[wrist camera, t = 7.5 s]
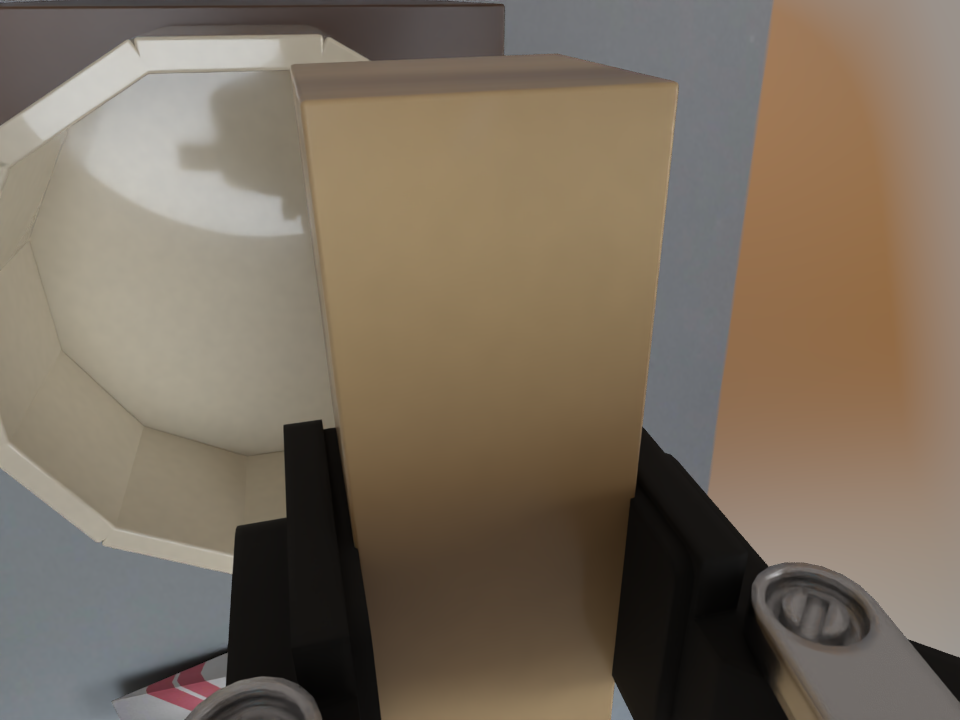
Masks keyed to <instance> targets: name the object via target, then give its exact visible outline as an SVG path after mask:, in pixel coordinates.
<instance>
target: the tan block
mask: <svg viewBox="0 0 960 720" xmlns="http://www.w3.org/2000/svg"><path fill="white" fill-rule="evenodd" d="M290 75H291V83H292V91H293V99H294V107H295V115H296V123H297V130H298V138H299V146H300V154H301V162H302V170H303V177H304V185H305V193H306V201H307V209H308V217H309V225H310V232H311V240H312V248H313V256H314V264H315V272H316V280H317V287H318V295H319V303H320V311H321V319H322V327H323V334H324V342H325V350H326V358H327V366H328V374H329V382H330V389H331V397H332V405H333V413H334V421H335V427H336V431H337V438H338V444H339V451H340V457H341V464H342V470H343V477H344V483H345V490H346V496H347V502H348V509H349V515H350V522H351V528H352V535H353V541H354V547H355V548H358V552H359V559H360V565H361V571H362V577H363V584H364V590H365V596H366V602H367V609H368V615H369V622H370V629H371V636H372V644H373V652H374V660H375V669H376V678H377V686H378V695H379V703H380V712H381V720H611V712H612V703H613V694H614V684H615V681H614V679H613V677H612V668H613V658H614V649H615V640H616V630H617V621H618V611H619V602H620V592H621V583H622V574H623V564H624V555H625V545H626V536H627V527H628V517H629V508H630V499H631V498H634V497H635V489H636V480H637V471H638V461H639V452H640V443H641V434H642V424H643V415H644V406H645V396H646V387H647V378H648V369H649V359H650V350H651V341H652V331H653V322H654V313H655V304H656V294H657V285H658V276H659V266H660V257H661V248H662V239H663V229H664V220H665V211H666V201H667V192H668V183H669V174H670V164H671V155H672V146H673V136H674V127H675V118H676V108H677V99H678V90H679V86H678V83H676V82H674V81H671V80H667V79H662V78H658V77H654V76H650V75H645V74H641V73H637V72H633V71H628V70H624V69H620V68H616V67H611V66H607V65H603V64H599V63H595V62H590V61H586V60H582V59H578V58H573V57H569V56H565V55H561V54H536V55H510V56H485V57H459V58H434V59H408V60H383V61H357V62H332V63H306V64H293V65H291V66H290Z"/></svg>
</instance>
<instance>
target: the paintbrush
mask: <svg viewBox="0 0 960 720" xmlns="http://www.w3.org/2000/svg"><path fill="white" fill-rule="evenodd" d="M227 657H228V653H226V654H223V655H221V656H218V657H216V658H214V659H211V660H209V661H206V662H204V663H202V664H199V665H197V666H194V667H192V668H190V669H187V670H185V671H182V672H180V673H178V674H175V675H173V676H170V677H168V678H166V679H163V680H161V681H159V682H156V683H154V684H151V685H149V686H147V687H144V688H142V689H139V690H137V691H135V692H132V693H130V694H127V695H125V696H123V697H120V698H118V699H115V700H113V701H111V702H112V704H113V706H114V708H115V710H116V712H117V714H118V716H119V718H120V720H184V719H185V718H186V717H187V716H188V715H189V714H190V713H191V711H192V710H193V709H194V708H195V707H196V706H197V705H198V704H199V703H200V702H202V701H203V700H205V699H206V698H207V697H209V696H210V695H211V694H213V693H214V692H216V691H217V690H219V689H221V688H223V687H226V674H227Z"/></svg>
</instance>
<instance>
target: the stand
mask: <svg viewBox="0 0 960 720" xmlns="http://www.w3.org/2000/svg"><path fill="white" fill-rule="evenodd" d="M504 19H505V6H504V5H503V4H495V3H476V2H458V1H440V0H55V1H33V2H11V3H0V125H2V124H3V123H5V122H6V121H8V120H9V119H10V118H12V117H13V116H15V115H16V114H18V113H19V112H21V111H22V110H24V109H25V108H27V107H28V106H30V105H31V104H32V103H34V102H35V101H37V100H38V99H40V98H41V97H43V96H44V95H46V94H47V93H49V92H50V91H52V90H53V89H54V88H56V87H57V86H59V85H60V84H62V83H63V82H65V81H66V80H68V79H69V78H71V77H72V76H74V75H75V74H77V73H78V72H79V71H81V70H82V69H84V68H85V67H87V66H88V65H90V64H91V63H93V62H94V61H96V60H97V59H99V58H100V57H101V56H103V55H104V54H106V53H107V52H109V51H110V50H112V49H113V48H115V47H116V46H118V45H119V44H121V43H122V42H123V41H125V40H127V39H130V38H132V37H135V36H138V35H141V34H144V33H147V32H150V31H153V30H156V29H158V28H163V27H166V26H206V25H237V24H244V25H301V24H307V25H310V26H311V27H312V28H313V27H317V28H319V29H321V30H322V31H324V32H326V33H328V34H329V35H331V36H333V37H334V38H336V39H338V40H340V41H341V42H343V43H345V44H347V45H348V46H350V47H352V48H353V49H355V50H357V51H359V52H360V53H362V54H364V55H366V56H367V57H369V58H371V59H373V60H374V61H383V60H408V59H434V58H459V57H485V56H504Z"/></svg>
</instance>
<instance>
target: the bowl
mask: <svg viewBox="0 0 960 720" xmlns="http://www.w3.org/2000/svg"><path fill="white" fill-rule="evenodd" d="M357 61H374V60H373V59H371V58H369V57H367V56H366V55H364V54H362V53H360V52H359V51H357V50H355V49H353V48H352V47H350V46H348V45H347V44H345V43H343V42H341V41H340V40H338V39H336V38H334V37H333V36H331V35H329V34H328V33H326V32H324V31H322V30H321V29H319V28H317V27H313V28H312V27H311V26H310V25H307V24H301V25H244V24H237V25H206V26H166V27H163V28H158V29H156V30H153V31H150V32H147V33H144V34H141V35H138V36H135V37H132V38H130V39H127V40H125V41H123V42H122V43H121V44H119V45H118V46H116V47H115V48H113V49H112V50H110V51H109V52H107V53H106V54H104V55H103V56H101V57H100V58H99V59H97V60H96V61H94V62H93V63H91V64H90V65H88V66H87V67H85V68H84V69H82V70H81V71H79V72H78V73H77V74H75V75H74V76H72V77H71V78H69V79H68V80H66V81H65V82H63V83H62V84H60V85H59V86H57V87H56V88H54V89H53V90H52V91H50V92H49V93H47V94H46V95H44V96H43V97H41V98H40V99H38V100H37V101H35V102H34V103H32V104H31V105H30V106H28V107H27V108H25V109H24V110H22V111H21V112H19V113H18V114H16V115H15V116H13V117H12V118H10V119H9V120H8V121H6V122H5V123H3V124H2V125H0V468H1V469H2V470H3V471H5V472H6V473H7V474H9V475H10V476H11V477H12V478H14V479H15V480H16V481H18V482H19V483H20V484H22V485H23V486H24V487H25V488H27V489H28V490H29V491H31V492H32V493H33V494H34V495H36V496H37V497H38V498H40V499H41V500H42V501H43V502H45V503H46V504H47V505H49V506H50V507H51V508H53V509H54V510H55V511H56V512H58V513H59V514H60V515H62V516H63V517H64V518H65V519H67V520H68V521H69V522H71V523H72V524H73V525H74V526H76V527H77V528H78V529H80V530H81V531H82V532H84V533H85V534H86V535H87V536H89V537H90V538H91V539H93V540H94V541H95V542H97V543H100V542H101V541H102V545H103V546H107V547H111V548H116V549H120V550H125V551H129V552H134V553H138V554H143V555H147V556H152V557H156V558H161V559H165V560H170V561H174V562H179V563H183V564H188V565H192V566H197V567H201V568H206V569H210V570H215V571H219V572H224V573H228V574H233V557H234V540H235V531H236V527H237V526H239V525H245V524H251V523H257V522H262V521H268V520H274V519H280V518H286V490H285V462H284V433H283V425H285V424H292V423H299V422H306V421H313V420H320V419H322V423H323V429H328V428H334V427H335V421H334V413H333V405H332V397H331V389H330V382H329V374H328V366H327V358H326V350H325V342H324V334H323V327H322V319H321V311H320V303H319V295H318V287H317V280H316V272H315V264H314V256H313V248H312V240H311V232H310V225H309V217H308V209H307V201H306V193H305V185H304V177H303V170H302V162H301V154H300V146H299V138H298V130H297V123H296V115H295V107H294V99H293V91H292V83H291V75H290V66H291V65H293V64H306V63H332V62H357Z"/></svg>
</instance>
